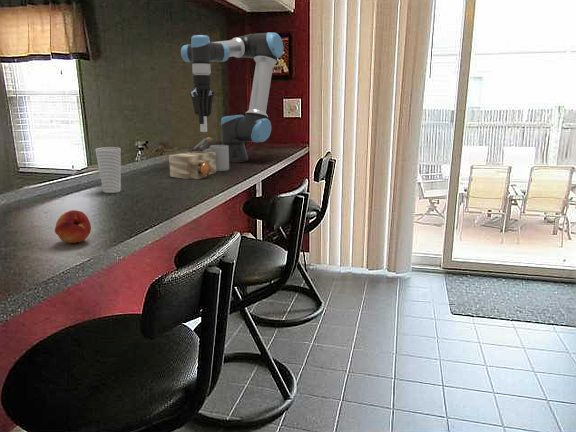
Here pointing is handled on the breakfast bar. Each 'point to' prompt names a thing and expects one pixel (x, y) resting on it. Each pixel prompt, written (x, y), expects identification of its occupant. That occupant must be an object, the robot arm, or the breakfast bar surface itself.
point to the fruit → (73, 227)
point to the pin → (204, 168)
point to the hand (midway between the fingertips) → (203, 131)
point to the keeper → (201, 144)
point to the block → (191, 164)
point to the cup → (109, 168)
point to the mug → (220, 156)
